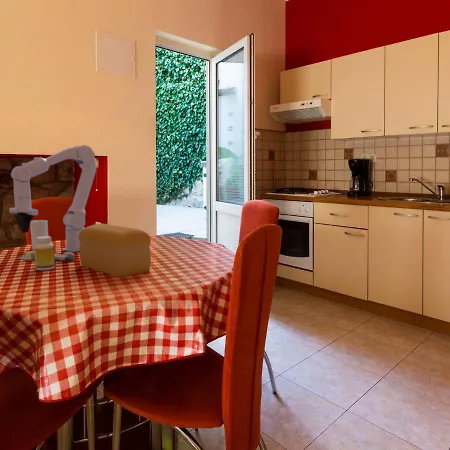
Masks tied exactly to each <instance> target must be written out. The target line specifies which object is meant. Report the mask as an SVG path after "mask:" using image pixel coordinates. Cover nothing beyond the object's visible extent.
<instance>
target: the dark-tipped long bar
mask: <svg viewBox="0 0 450 450" xmlns="http://www.w3.org/2000/svg"><path fill="white" fill-rule="evenodd" d="M54 255H58V256H65V257H67V260H66V261H67V262H69V263H70V262H72V263H73V262H75V260H76V259H75V253H73V254H70V255H65V254H60V253H55V252H54Z"/></svg>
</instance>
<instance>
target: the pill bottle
mask: <svg viewBox="0 0 450 450" xmlns="http://www.w3.org/2000/svg"><path fill="white" fill-rule="evenodd" d="M36 242H37V244H35V246H34V250H33V251H35V261H34V262H35V263H34V264H35V265H34V266H35V269H36V270H37V271H50V270H52V269H55V268H56V259H55V256H54V253H55V246H54V243H53V242H52V237H51V236H50V235H48V236H41V237H37V238H36Z"/></svg>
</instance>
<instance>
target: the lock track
mask: <svg viewBox="0 0 450 450" xmlns="http://www.w3.org/2000/svg"><path fill="white" fill-rule="evenodd" d="M17 260H23V261H28V262H35V259H32V260H31V259H25V255H23V256H21V257H19V256H18V257H17Z"/></svg>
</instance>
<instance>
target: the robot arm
mask: <svg viewBox="0 0 450 450" xmlns="http://www.w3.org/2000/svg"><path fill="white" fill-rule="evenodd" d="M95 156H96V153H95V152H94V151H93V149H92V147H90V145H86V144H83V145H75V146H73V147H68V148H65V149H63V150H61V151H58V152H57V153H54V154H52V155H50V156H48V157H46V158H43V157H37V156H36V157H33V159H32V160H30V161H29V162H23V163H21V165H20V166H15V167H14V168H13V169H12V170H11V173H10V176H11V178H12V179H13V197H14V198H13V199H14V207H9V214H14V215H13V218H14V219H15V220H16V221H17V223H18V224H17V225H18V227H19V229H20V232H21V233H23V234H24V233H25V234H26V233H29V230H30V223H31V221H33V218H34V216H38V215H39V209H35V208H32V196H31V184H30V182H31V181H30V180H31V179H32V178H35V177H36V176H38V175H39V176H40V175H41V174H43V173H46V172H47V171H49V169H50V166H53V165H56V164H58V163H60V162H63V161H65V160H74V161H75V162H76V163H77V164H78V165H79V167H80V168H81V174H80V177H79V180H78V183H77V187H76V190H75V193H74V197H73V201H72V203H71V205H70V207H69V208H68V210H67V212H66V213H65V215H63V218H62V222H63V224H64V225H65V247H66V248H61V251H65V252H73V253H77V252H80V241H79V234H80V232H81V231H82V230H83V229H84V228H85V225H86V214H87V213H86V210H85V209H86V205H87V201H88V198H89V195H90V192H91V190H92V189H91V188H92V185H93V182H94V179H95V175H96V172H97V163H96V159H95Z"/></svg>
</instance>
